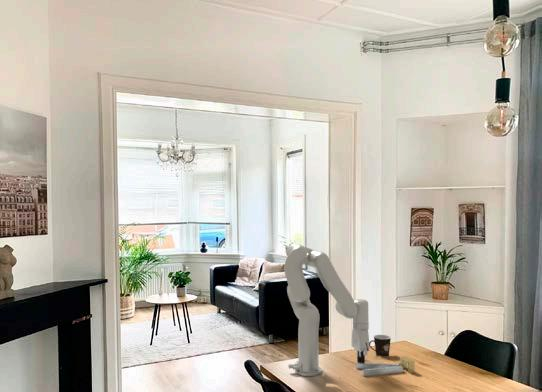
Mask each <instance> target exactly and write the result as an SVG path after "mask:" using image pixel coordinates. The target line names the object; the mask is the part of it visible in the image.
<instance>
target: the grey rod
mask: <svg viewBox="0 0 542 392" xmlns="http://www.w3.org/2000/svg"><path fill="white" fill-rule="evenodd" d="M400 365H402V364H401V363H400V362H397V363H385V362H384V363H382V362H381V363H380V362H379V363H378V362H365V363H361V362H357V361H356V362H355V369H357V370H358V369H360V370H363V369H373V368H383V367H393V366H400Z"/></svg>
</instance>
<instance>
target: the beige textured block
mask: <svg viewBox="0 0 542 392" xmlns="http://www.w3.org/2000/svg"><path fill="white" fill-rule="evenodd" d="M399 360H400V361H399V363H401V364H402V365H400V366H403V369H407V374H415V371H416V369H415V368H416V367H415V366H416V365H415V364H416V363H415V360H413V359H412V358H410V357H408V356H406V355H405V356H404V355H403V356H402V355H401V356H400V357H399Z"/></svg>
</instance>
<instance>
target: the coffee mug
mask: <svg viewBox="0 0 542 392" xmlns="http://www.w3.org/2000/svg"><path fill="white" fill-rule="evenodd" d="M391 338H392V337H391V336H390V335H388V334H387V335H386V334H375V335H373V340H369V349H372V351H374V352H375V356H376V357H390V348H391ZM372 342H374V348H373V347H372V346H371V343H372Z"/></svg>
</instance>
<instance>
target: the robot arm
mask: <svg viewBox="0 0 542 392" xmlns="http://www.w3.org/2000/svg"><path fill="white" fill-rule="evenodd" d="M285 253H286V256H287V257H286V259H285V261H284V267H283V269H284V275H285V279H286V282H287V284H288V285H287V287H286V292H287V297H288V299H289V302H290V305H291V308H292V309H293V313H294V314H295V317H296V318H297V319H298V328H297V330H298V332H297V333H298V334H297V336H298V337H297V338H298V342H297V343H298V350H297V351H298V355H297V356H298V358H297V359H298V360H296V362H294V363H289V364H288V365H287V367H288V369H289V370H290V369H292V370H294V372H295V373H296V374H297V375H299V376H303V377H316V376H320V375H321V374H322V373H323V369H322V368H321V367H320V366H319V364H320V363H319V362H320V361H319V327H320V313H319V309H318V308H317V307H316V306H315V304H313V303H311V300H310V297H311V290H310V288H309V286H308V285H309V284H308V283H307V279H306V277H305V274H304V271H303V267H304V266H303V265H305V266H308V267H311V268H314V270H315V272H316V274H317V276H318V278H319V279H320V282H321V283H322V285H323V287H324V289H326V291H327V292H328V293H329V294H330V295H331V296H332V297H333V298H334V300H335V302H336V303H335V311H336V312H337V313H338V314H340V315H341V316H343V317H345V318H346V319H352V331H351V347H352V348H353V349H354V350H355V351H356V357H357V358H356V362H361V363H366V361H365V359H366V358H365V357H366V356H367V355H368V352H369V351H370V346H369V342H370V336H369V334H370V333H369V328H370V327H369V326H370V325H369V324H370V323H369V302H368V301H367V300H366V299H359V298H357V299H354V298H353V296H352V294H351V293H350V291H349V290H348V288H347V287H346V286H345V284H344V282H343V281H342V279H341V278H340V276H339V274H338V272H337V271H336V268H335V267H334V265H333V263H332V261H331V259H330V258H329V256H328V255H327V253H325V252H323V251H319V250H315V249H313V248H308V247H307V246H304V245H302V244H298V243H293V244H290V245H289V246H288V247H287V249H286V252H285Z"/></svg>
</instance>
